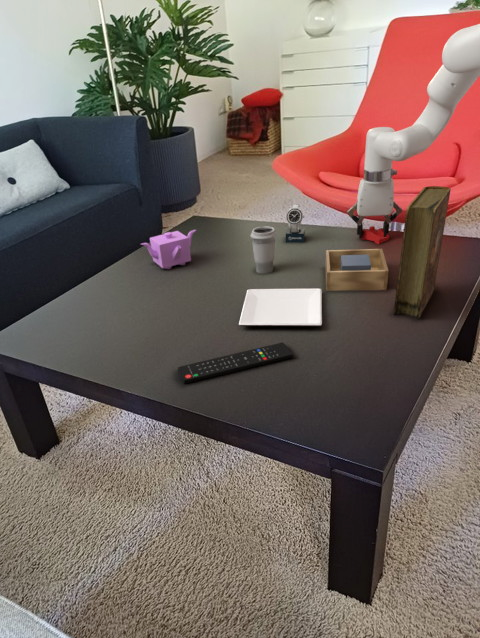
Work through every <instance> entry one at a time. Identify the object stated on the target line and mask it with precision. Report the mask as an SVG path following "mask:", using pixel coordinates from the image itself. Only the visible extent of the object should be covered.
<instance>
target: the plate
mask: <svg viewBox="0 0 480 638" xmlns="http://www.w3.org/2000/svg"><path fill="white" fill-rule="evenodd" d="M322 290H323V289H322V288H249V289H247V290H246V294H245V298H244V301H243V306H242V310H241V314H240V318H239V322H238V325H239V326H240V327H321V326H322V324H323V314H322V313H323V311H322V309H323V308H322V307H323V306H322V305H323V304H322V303H323V301H322V300H323V299H322V298H323V296H322V293H323V292H322Z"/></svg>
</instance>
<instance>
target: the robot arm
mask: <svg viewBox="0 0 480 638" xmlns="http://www.w3.org/2000/svg"><path fill="white" fill-rule="evenodd" d="M441 62H442V65H441V66H440V68H439V69H438V71H437V72H436V73H435V75H434V76H433V77H432V79H431V80H430V82H429V83H428V85H427V87H426V92H427V95H428V97H429V98H428V102H427V104H426V106H425V108H424V109H423V111H422V112H421V114H420V115H419V116H418V118H417V119H416V120H415V122H414V123H413V124H412V125H410V126H408V127H405V128H402V129H400V130H396V131H395V129H394V128H393V127H390V126H378V127H377V126H376V127H373V128H370V129H369V130H368V131H367V133H366V138H365V150H364V152H365V153H364V167H363V178H362V179H360V181H359V185H358V189H357V197H356V202H355V203H354V204H353V205H352V206H351V207H350V208H349V209H348V210H347V211H346V215H348V217H349V218H351V219H352V221H353V222H355V224H356V235H358V238H359V239H361V238H362V231H363V230H364V225H363V221H364V220H365V218H366V217H383V218H384V221H383V222H382V223H383V224H382V228H383V230H384V236H383V237H386V234H388V235H389V233H390V224H391V223H392V222H393V221H394V220H395V219H396V218H397V217H399V215H401V213H402V212H403V207H401V206H400V205H399V204H398V203H396V201H395V199H394V198H395V184H394V178H393V176H396V175H398V170H397V169H394V168H393V164H394V163H393V161H394V162H403V161H406V160H409V159H411V158H414V156H418V155H420V154H422V153H424V152H425V151H426V150H428V148H430V147H431V146H432V145H433V144H434V142H435V141H436V140H437V138H438V137H439V136H440V134H442V132H443V131H444V130H445V128H446V127H447V125H448V124H449V122H450V120H451V118H452V117H453V115H454V113H455V111H456V108H457V106H458V104H459V103H460V102H461V100H462V99H463V98H464V96H465V95H466V94H467V92H468V91H469V90H470V89H471V88H472V86H473V85H474V83H475V82H476V81H477V80H478V79H479V77H480V23H478V24H474V25H471V26H468V27H464V28H461V29H459V30H457V31H455V32H454V33H453V34H452V35H451V36H450V37H449V38H448V39H447V40H446V43H445V44H444V46H443V49H442V52H441ZM355 211H356V214H357V215H356V214H355ZM393 211H394V212H393Z"/></svg>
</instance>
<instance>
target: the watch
mask: <svg viewBox="0 0 480 638" xmlns="http://www.w3.org/2000/svg"><path fill="white" fill-rule="evenodd" d="M285 219H286V221H287V224H288V227H289V228H286V231H285V243H286V244H287V243H289V244H290V243H293V244H294V243H295V244H296V243H298V244H299V243H300V244H301V243H304V242H305V238H306V229H305V228H300V226H301V224H302V221H303V219H305V215H303V212H302V209H301V207H300V204H291V206H290V207H289V209H288V211H287V213H286V215H285Z"/></svg>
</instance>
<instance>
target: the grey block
mask: <svg viewBox="0 0 480 638" xmlns="http://www.w3.org/2000/svg"><path fill="white" fill-rule="evenodd" d="M357 270H371V263H370V259H369V255H341V263H340V271H357Z"/></svg>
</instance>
